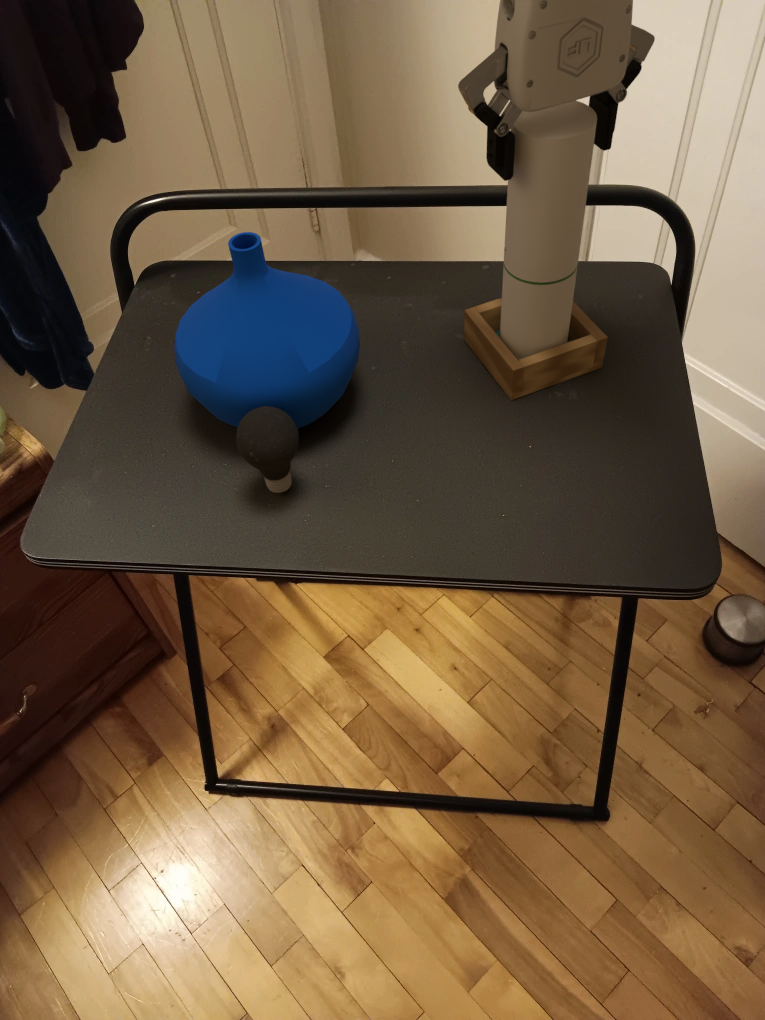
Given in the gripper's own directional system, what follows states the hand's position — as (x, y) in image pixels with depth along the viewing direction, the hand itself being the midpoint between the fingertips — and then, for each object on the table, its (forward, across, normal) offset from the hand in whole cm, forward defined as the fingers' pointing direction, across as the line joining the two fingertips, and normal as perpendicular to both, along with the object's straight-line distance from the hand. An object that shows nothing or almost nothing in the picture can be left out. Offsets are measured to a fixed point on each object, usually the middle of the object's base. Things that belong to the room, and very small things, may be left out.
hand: (549, 158), depth 72 cm
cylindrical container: (+22, 0, 0) cm, 22 cm away
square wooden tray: (+22, 0, 0) cm, 22 cm away
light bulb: (+22, -31, -6) cm, 39 cm away
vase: (+22, -27, +6) cm, 36 cm away
